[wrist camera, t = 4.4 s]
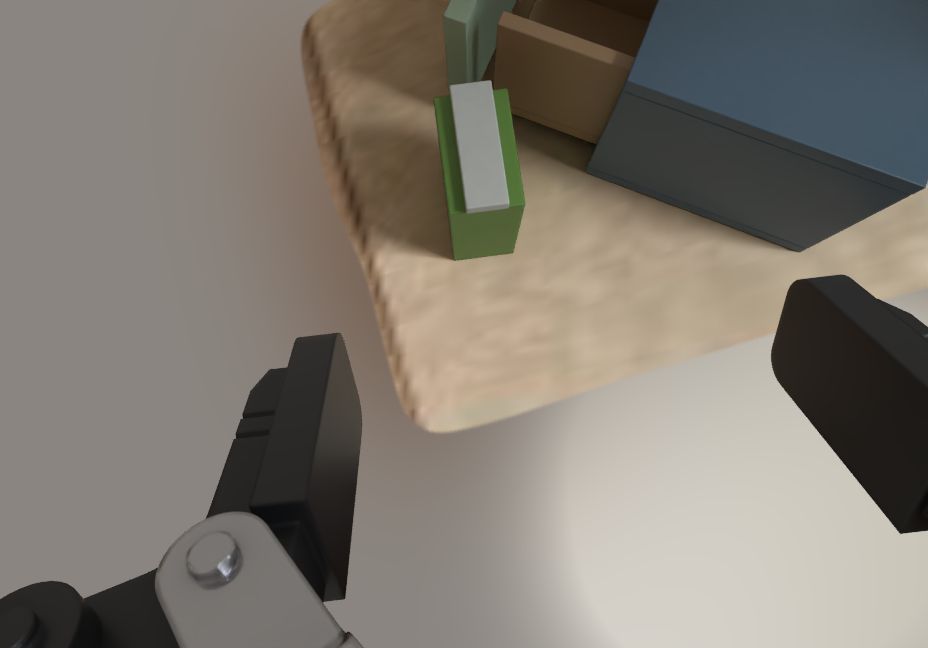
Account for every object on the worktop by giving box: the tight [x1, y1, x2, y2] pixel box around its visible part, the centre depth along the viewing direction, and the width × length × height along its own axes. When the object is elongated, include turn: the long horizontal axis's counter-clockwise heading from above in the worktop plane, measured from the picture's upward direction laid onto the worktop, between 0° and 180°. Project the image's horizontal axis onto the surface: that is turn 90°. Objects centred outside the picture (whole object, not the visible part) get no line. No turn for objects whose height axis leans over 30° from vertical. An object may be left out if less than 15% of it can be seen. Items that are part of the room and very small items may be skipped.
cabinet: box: [586, 0, 928, 252], centre depth 31 cm, size 14×12×10 cm
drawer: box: [444, 0, 658, 145], centre depth 31 cm, size 14×10×8 cm
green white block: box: [434, 80, 525, 261], centre depth 30 cm, size 4×6×8 cm, turn 7°
